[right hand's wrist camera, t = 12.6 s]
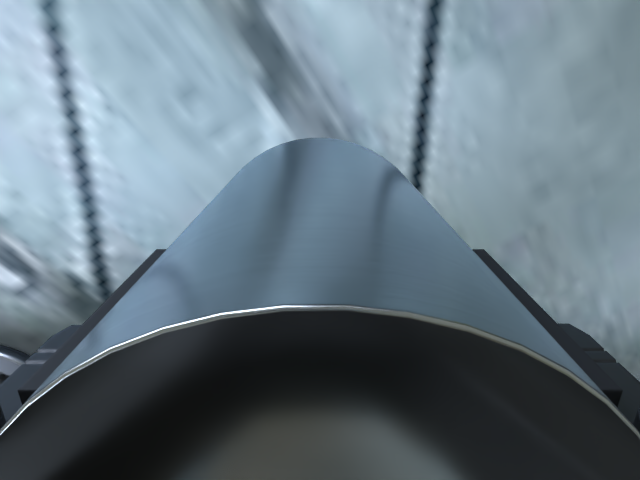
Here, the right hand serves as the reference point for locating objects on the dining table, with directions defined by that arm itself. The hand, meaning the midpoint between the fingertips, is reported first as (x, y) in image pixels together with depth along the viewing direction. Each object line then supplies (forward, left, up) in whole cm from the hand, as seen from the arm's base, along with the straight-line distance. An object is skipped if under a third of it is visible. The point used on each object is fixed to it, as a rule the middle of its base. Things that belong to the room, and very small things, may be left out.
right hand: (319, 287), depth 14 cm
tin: (0, 0, -4) cm, 4 cm away
